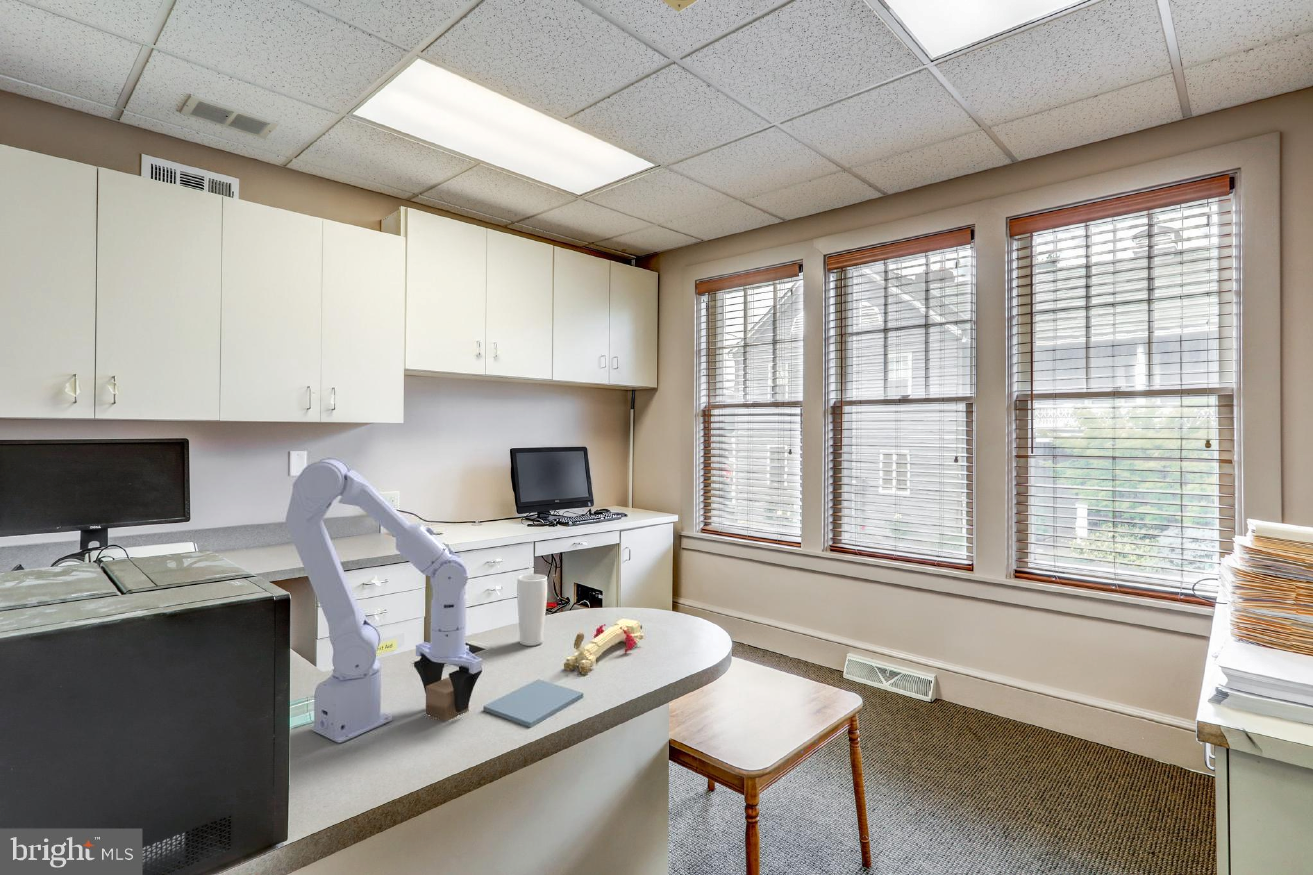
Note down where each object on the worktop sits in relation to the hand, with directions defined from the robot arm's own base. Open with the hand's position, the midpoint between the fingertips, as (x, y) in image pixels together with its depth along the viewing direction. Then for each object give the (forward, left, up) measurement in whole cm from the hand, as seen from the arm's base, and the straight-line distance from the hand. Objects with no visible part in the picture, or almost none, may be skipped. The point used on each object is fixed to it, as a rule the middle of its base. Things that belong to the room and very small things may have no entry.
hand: (447, 704), depth 110 cm
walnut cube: (0, 0, -2) cm, 2 cm away
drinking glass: (+34, +12, -2) cm, 36 cm away
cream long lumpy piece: (+39, -6, -2) cm, 39 cm away
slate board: (+11, -10, -1) cm, 15 cm away
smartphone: (+19, +20, -2) cm, 28 cm away
